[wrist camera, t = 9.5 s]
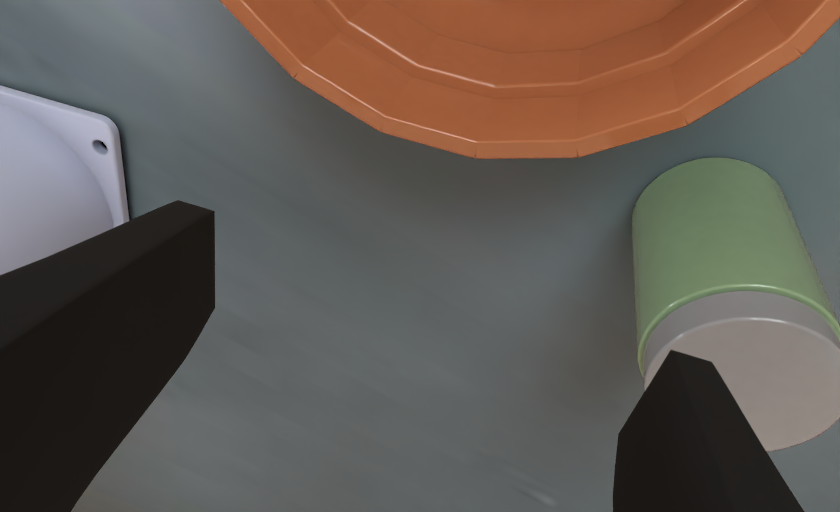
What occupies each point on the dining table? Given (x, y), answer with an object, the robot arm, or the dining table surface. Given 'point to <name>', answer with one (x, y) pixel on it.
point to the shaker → (736, 295)
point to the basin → (532, 64)
